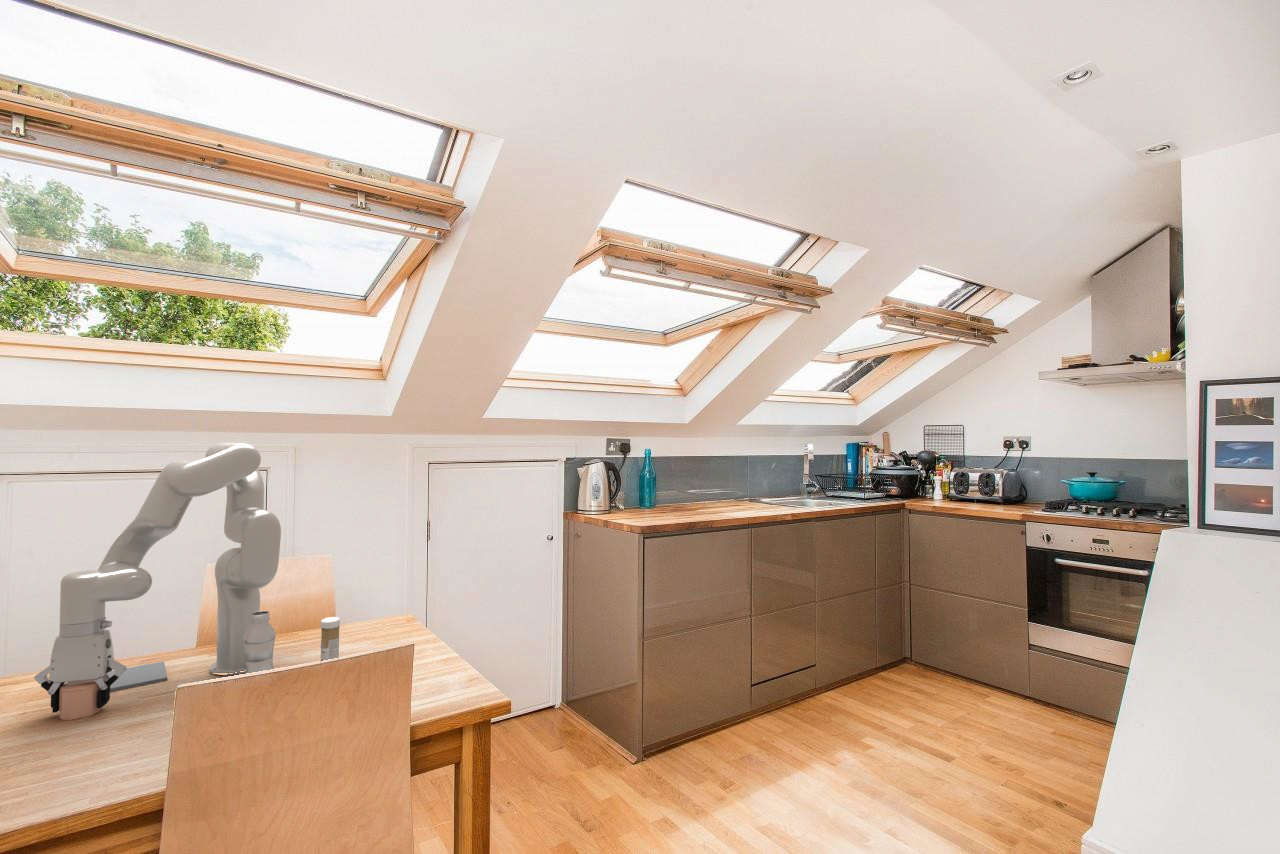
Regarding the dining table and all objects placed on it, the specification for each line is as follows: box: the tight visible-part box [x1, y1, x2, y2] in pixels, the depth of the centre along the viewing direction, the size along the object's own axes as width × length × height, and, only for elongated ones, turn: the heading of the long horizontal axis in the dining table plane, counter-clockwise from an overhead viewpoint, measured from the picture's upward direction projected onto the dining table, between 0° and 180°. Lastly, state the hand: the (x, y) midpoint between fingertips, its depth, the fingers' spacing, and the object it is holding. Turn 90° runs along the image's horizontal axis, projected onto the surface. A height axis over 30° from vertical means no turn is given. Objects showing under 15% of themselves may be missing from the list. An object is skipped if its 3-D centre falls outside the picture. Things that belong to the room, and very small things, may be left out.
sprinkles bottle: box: [320, 616, 341, 662], centre depth 163 cm, size 5×5×13 cm
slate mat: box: [108, 661, 168, 693], centre depth 155 cm, size 16×14×1 cm
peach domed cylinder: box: [58, 680, 102, 721], centre depth 137 cm, size 7×7×6 cm
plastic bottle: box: [244, 610, 277, 674], centre depth 146 cm, size 6×7×20 cm
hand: (80, 707), depth 137 cm, fingers open, 7 cm apart
